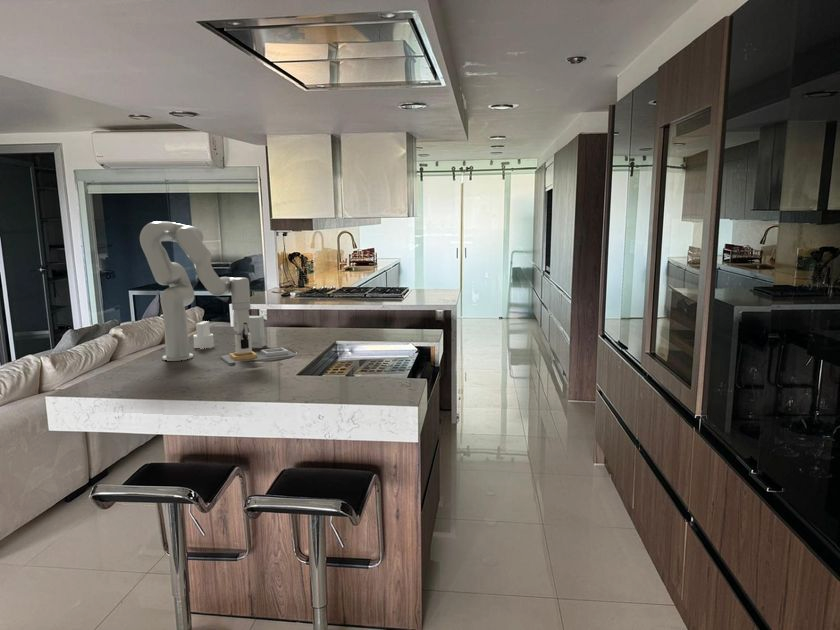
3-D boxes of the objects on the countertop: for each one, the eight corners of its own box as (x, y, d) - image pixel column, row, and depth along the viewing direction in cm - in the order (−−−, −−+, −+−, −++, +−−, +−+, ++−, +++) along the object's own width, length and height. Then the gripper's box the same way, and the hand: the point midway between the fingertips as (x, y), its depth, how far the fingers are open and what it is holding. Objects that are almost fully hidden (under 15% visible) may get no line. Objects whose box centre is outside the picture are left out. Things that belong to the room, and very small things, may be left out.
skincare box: (265, 347, 277) (264, 315, 274) (260, 350, 270) (259, 317, 268) (249, 346, 277) (247, 315, 275) (243, 349, 271) (242, 317, 268)
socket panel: (220, 358, 254) (220, 352, 253) (285, 350, 270) (285, 345, 269) (229, 365, 240) (229, 359, 240) (297, 357, 256) (297, 351, 256)
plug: (235, 352, 251) (234, 332, 249) (249, 350, 254) (248, 331, 253) (238, 353, 247) (237, 333, 246) (251, 352, 251) (250, 332, 249)
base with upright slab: (209, 349, 272) (208, 324, 270) (190, 349, 272) (189, 324, 270) (216, 345, 281) (215, 321, 279) (198, 345, 281) (197, 321, 279)
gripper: (227, 304, 253) (229, 345, 255) (237, 309, 239) (240, 352, 241) (244, 303, 257) (246, 343, 259) (255, 307, 243) (257, 349, 245)
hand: (243, 347), depth 250 cm, fingers closed on plug, 4 cm apart
